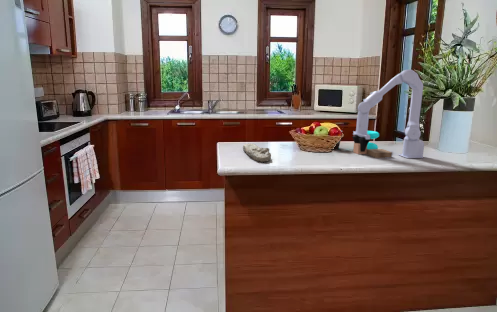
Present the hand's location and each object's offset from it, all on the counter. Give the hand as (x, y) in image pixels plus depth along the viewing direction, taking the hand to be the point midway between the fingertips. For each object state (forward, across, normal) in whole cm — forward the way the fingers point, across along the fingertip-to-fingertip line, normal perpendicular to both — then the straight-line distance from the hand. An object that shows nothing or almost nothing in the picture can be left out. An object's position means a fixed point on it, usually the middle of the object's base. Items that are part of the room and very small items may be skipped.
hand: (359, 150), depth 188 cm
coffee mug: (+2, -13, -8) cm, 15 cm away
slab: (+2, +7, +7) cm, 10 cm away
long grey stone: (+2, -2, -56) cm, 56 cm away
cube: (+1, 0, 0) cm, 1 cm away
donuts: (+2, -9, +10) cm, 14 cm away
